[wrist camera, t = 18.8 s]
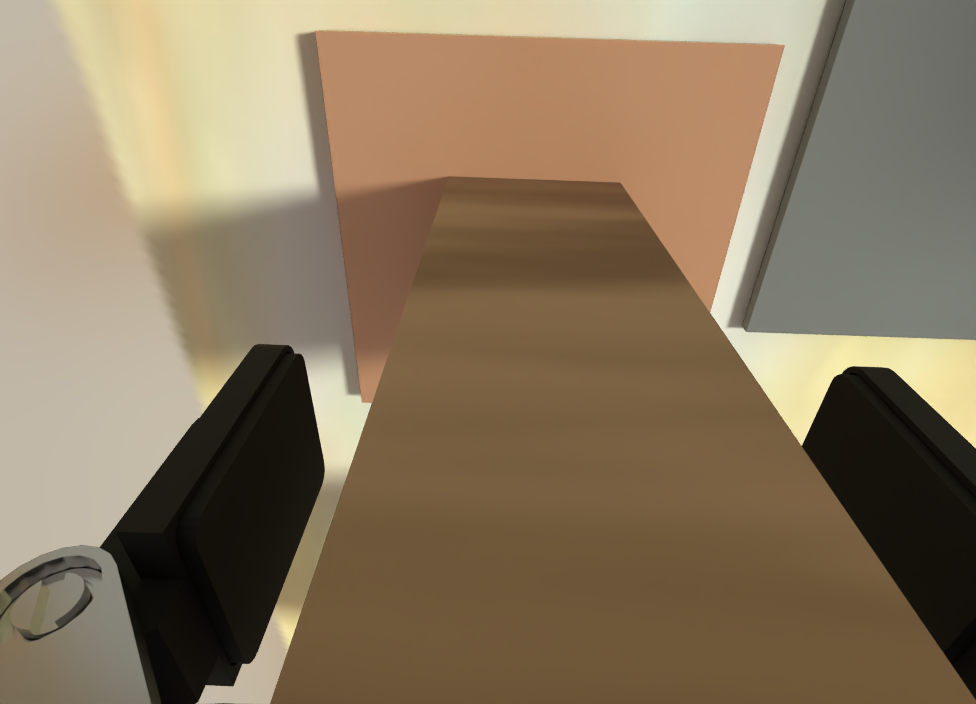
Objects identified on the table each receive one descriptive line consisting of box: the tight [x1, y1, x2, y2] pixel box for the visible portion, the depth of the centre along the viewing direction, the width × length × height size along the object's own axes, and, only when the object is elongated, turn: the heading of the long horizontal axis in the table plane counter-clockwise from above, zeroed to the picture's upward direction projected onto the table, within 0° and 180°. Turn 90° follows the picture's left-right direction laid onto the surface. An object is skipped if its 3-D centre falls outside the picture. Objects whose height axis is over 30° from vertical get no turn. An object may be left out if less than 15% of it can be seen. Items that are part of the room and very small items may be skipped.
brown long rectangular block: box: [270, 176, 976, 704], centre depth 11 cm, size 5×5×15 cm
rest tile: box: [315, 30, 785, 403], centre depth 17 cm, size 12×12×1 cm
